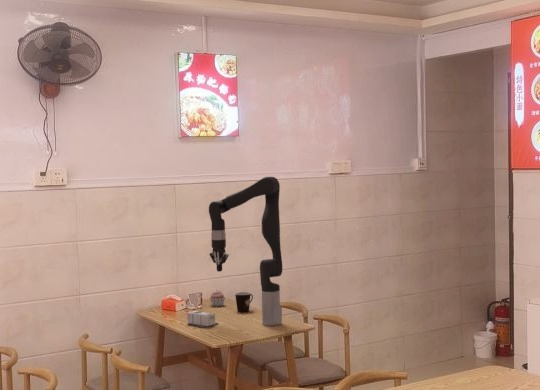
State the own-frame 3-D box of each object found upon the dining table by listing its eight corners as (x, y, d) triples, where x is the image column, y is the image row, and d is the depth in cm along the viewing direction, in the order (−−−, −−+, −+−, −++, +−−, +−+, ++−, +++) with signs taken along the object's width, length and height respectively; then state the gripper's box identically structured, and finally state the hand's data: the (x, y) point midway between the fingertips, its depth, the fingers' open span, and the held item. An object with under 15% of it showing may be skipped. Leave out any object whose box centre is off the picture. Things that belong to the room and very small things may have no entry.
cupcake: (211, 304, 414) (210, 287, 414) (226, 304, 413) (226, 287, 413) (208, 307, 405) (207, 290, 405) (224, 307, 404) (223, 290, 404)
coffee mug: (238, 313, 386) (238, 295, 386) (233, 310, 394) (232, 293, 394) (258, 311, 391) (257, 293, 390) (252, 308, 399) (252, 291, 398)
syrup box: (207, 315, 353) (187, 311, 362) (207, 326, 353) (187, 323, 362) (215, 313, 358) (195, 310, 367) (215, 324, 358) (195, 321, 367)
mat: (218, 324, 361) (218, 323, 361) (202, 327, 353) (202, 326, 353) (203, 320, 369) (203, 320, 369) (187, 324, 361) (187, 323, 361)
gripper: (232, 238, 367) (233, 271, 368) (215, 237, 376) (216, 269, 377) (222, 239, 362) (222, 273, 362) (204, 238, 371) (205, 271, 371)
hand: (219, 271), depth 369 cm, fingers closed
